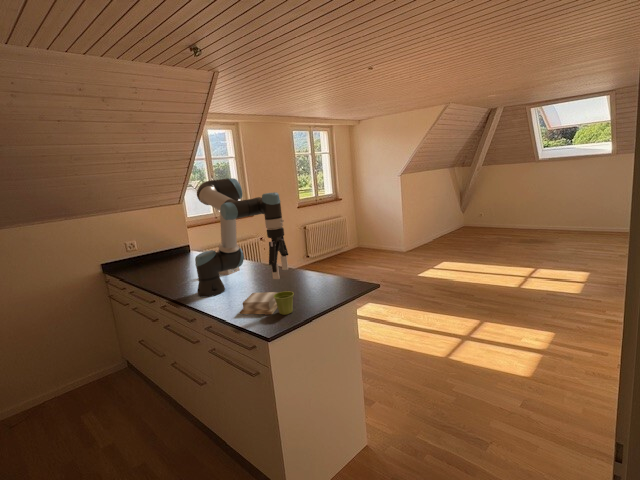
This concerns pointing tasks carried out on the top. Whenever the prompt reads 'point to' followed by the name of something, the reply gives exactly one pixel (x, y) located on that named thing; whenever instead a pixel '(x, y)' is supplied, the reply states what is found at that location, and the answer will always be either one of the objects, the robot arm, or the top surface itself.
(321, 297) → the top surface
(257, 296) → the pedestal base
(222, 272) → the grater
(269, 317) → the top surface
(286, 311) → the plant pot
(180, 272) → the top surface
